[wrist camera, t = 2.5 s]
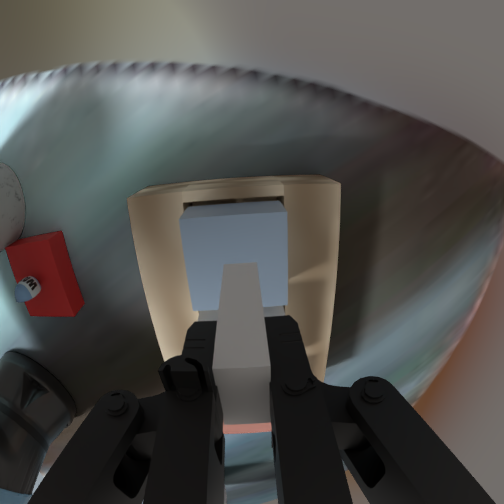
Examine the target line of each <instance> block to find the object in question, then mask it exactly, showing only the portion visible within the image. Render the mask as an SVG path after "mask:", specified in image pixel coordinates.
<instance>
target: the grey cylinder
mask: <svg viewBox="0 0 504 504" xmlns="http://www.w3.org/2000/svg"><path fill="white" fill-rule="evenodd" d="M24 222H25V200H24V195H23V191H22V187H21V185H20V182H19V180H18V178H17V176H16V175H15V173H14V171H13V170H12V169H11V168H10V167H9V166H7V165H6V164H4V163H0V252H1V251H2V250H4V249H5V247H7V246H9V245H10V244H12V243H13V242H15V241H17V240H18V239H19V237H20V236H21V234H22V231H23V228H24Z"/></svg>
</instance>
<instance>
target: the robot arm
mask: <svg viewBox="0 0 504 504" xmlns="http://www.w3.org/2000/svg"><path fill="white" fill-rule="evenodd" d="M158 372H159V375H160V377H161V380H162V383H163V385H164V388H165V392H163V393H161V394H159V395H155V396H151V397H146V398H141V399H137V398H136V396H135V395H134V394H133V393H131V392H129V391H126V390H115V391H111V392H109V393H107V394H105V395H104V396H103V397H102V398H101V399H99V401H98V402H97V403H96V405H95V406H94V407H93V409H92V410H91V412H90V413H89V414H88V416H87V417H86V418H85V420H84V421H83V423H82V424H81V425H80V427H79V428H78V430H77V431H76V432H75V434H74V435H73V437H72V438H71V440H70V441H69V442H68V444H67V445H66V447H65V448H64V449H63V451H62V452H61V454H60V455H59V457H58V458H57V460H56V461H55V463H54V464H53V465H52V467H51V468H50V470H49V471H48V473H47V474H46V476H45V477H44V479H43V480H42V482H41V483H40V485H39V486H38V488H37V489H36V491H35V492H34V494H33V495H32V491H33V488H34V485H35V482H36V479H37V476H38V474H39V471H40V468H41V466H42V463H43V460H44V458H45V455H46V453H47V450H48V448H49V446H50V444H51V443H52V442H53V441H54V440H55V439H56V438H57V437H58V435H59V434H60V433H61V432H62V431H63V429H64V428H67V427H68V426H69V425H70V424H71V423H72V421H73V418H74V416H75V414H76V407H75V403H74V401H73V399H72V398H71V396H70V395H69V393H68V392H67V390H66V389H65V388H64V387H63V386H62V385H61V383H60V382H59V381H58V380H57V379H56V378H55V377H54V376H52V375H51V374H50V373H49V372H48V371H47V370H45V369H44V368H43V367H42V366H40V365H39V364H37V363H36V362H35V361H33V360H31V359H30V358H28V357H26V356H24V355H22V354H19V353H15V352H7V353H5V354H4V355H3V356H2V358H1V359H0V504H142V502H143V504H224V457H225V438H224V433H223V421H224V425H235V424H257V423H271V428H272V448H273V455H274V465H275V475H276V485H277V495H278V504H353V502H352V498H351V495H350V491H349V486H348V483H347V479H346V475H345V471H344V467H343V463H342V460H343V461H344V463H345V464H346V466H347V468H348V469H349V471H350V473H351V474H352V476H353V477H354V479H355V481H356V482H357V484H358V485H359V487H360V488H361V490H362V492H363V493H364V495H365V497H366V498H367V500H368V501H369V503H370V504H496V503H495V502H494V501H493V500H492V499H491V498H490V496H489V495H488V494H487V493H486V492H485V490H484V489H483V488H482V487H481V486H480V484H479V483H478V482H477V481H476V480H475V478H474V477H473V476H472V475H471V474H470V473H469V471H468V470H467V469H466V468H465V467H464V466H463V464H462V463H461V462H460V461H459V460H458V459H457V458H456V456H455V455H454V454H453V453H452V452H451V451H450V449H449V448H448V447H447V446H446V445H445V444H444V443H443V441H442V440H441V439H440V438H439V437H438V436H437V435H436V434H435V432H434V431H433V430H432V429H431V428H430V427H429V425H428V424H427V423H426V422H425V421H424V420H423V419H422V418H421V416H420V415H419V414H418V413H417V412H416V411H415V410H414V408H413V407H412V406H411V405H410V404H409V403H408V402H407V401H406V399H405V398H404V397H403V396H402V395H401V394H400V393H399V392H398V391H397V389H396V388H395V387H394V386H393V385H392V384H391V383H390V382H388V381H387V380H385V379H383V378H380V377H373V376H368V377H364V378H360V379H359V380H357V381H356V382H354V383H353V385H352V386H351V387H339V386H332V385H328V384H325V383H323V382H321V381H320V380H318V379H317V377H316V376H314V375H313V373H312V371H311V368H310V364H309V361H308V357H307V354H306V350H305V347H304V343H303V340H302V336H301V334H300V329H299V326H298V323H297V322H296V321H295V320H294V319H293V318H292V317H291V316H290V315H284V316H271V317H264V312H263V304H262V297H261V289H260V282H259V274H258V267H257V262H252V263H236V264H224V266H223V275H222V283H221V292H220V300H219V309H218V318H217V321H195V322H194V323H193V324H192V325H191V326H190V327H189V328H188V330H187V333H186V337H185V341H184V346H183V350H182V354H181V355H177V356H175V357H172V358H170V359H168V360H167V361H165V362H164V363H163V364H162V365H161V366H160V368H159V370H158ZM341 458H342V460H341ZM143 499H144V501H143Z"/></svg>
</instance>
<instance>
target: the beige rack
mask: <svg viewBox="0 0 504 504" xmlns="http://www.w3.org/2000/svg"><path fill="white" fill-rule="evenodd" d="M260 201H280V202H281V203H282V205H283V206H284V208H285V209H286V211H287V223H288V305H283V307H284V311H285V315H290V316H291V317H292V318H293V319H294V320H295V321H296V322H297V323H298V326H299V329H300V334H301V336H302V340H303V343H304V347H305V350H306V354H307V357H308V361H309V364H310V368H311V371H312V373H313V375H314V376H316V377H317V379H318V380H320V381H321V382H324V376H325V369H326V363H327V356H328V349H329V342H330V334H331V326H332V318H333V309H334V299H335V288H336V277H337V264H338V249H339V231H340V204H341V183H339V182H336V181H334V180H332V179H330V178H327V177H325V176H323V175H320V174H315V175H277V176H256V177H239V178H225V179H212V180H201V181H190V182H180V183H171V184H162V185H154V186H148V187H146V188H144V189H142V190H140V191H139V192H137V193H135V194H133V195H132V196H130V197H128V198H127V204H128V211H129V217H130V223H131V229H132V234H133V240H134V245H135V250H136V255H137V260H138V265H139V269H140V274H141V278H142V283H143V287H144V291H145V295H146V299H147V303H148V307H149V311H150V314H151V318H152V322H153V325H154V329H155V332H156V336H157V339H158V343H159V346H160V349H161V353H162V356H163V359H164V362H165V361H167V360H168V359H170V358H172V357H175V356H177V355H181V354H182V350H183V346H184V341H185V337H186V333H187V330H188V328H189V327H190V326H191V325H192V324H193V323H194V322H195V321H198V316H199V311H193V308H192V303H191V297H190V291H189V285H188V279H187V273H186V267H185V260H184V253H183V247H182V240H181V232H180V225H179V218H180V217H181V215H182V214H183V213H184V211H185V210H186V209H187V207H191V206H203V205H215V204H229V203H244V202H260Z"/></svg>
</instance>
